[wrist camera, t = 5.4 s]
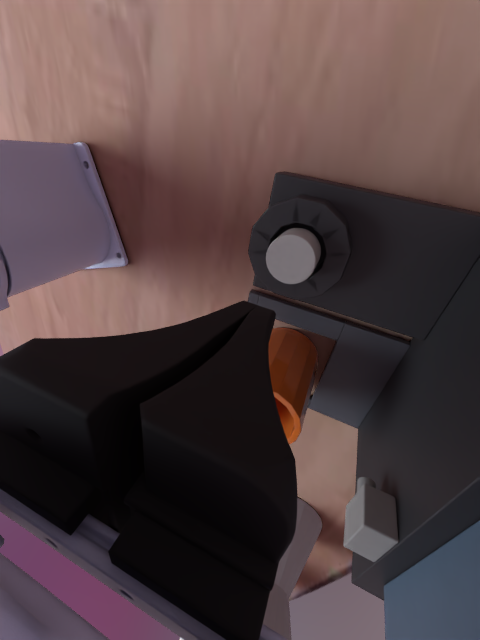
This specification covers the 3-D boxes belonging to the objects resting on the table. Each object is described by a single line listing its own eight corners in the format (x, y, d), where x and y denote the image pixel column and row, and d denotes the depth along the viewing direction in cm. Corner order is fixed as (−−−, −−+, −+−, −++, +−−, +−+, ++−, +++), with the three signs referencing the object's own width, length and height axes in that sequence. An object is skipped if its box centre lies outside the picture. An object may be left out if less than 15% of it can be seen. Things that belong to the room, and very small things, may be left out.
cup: (252, 326, 23) (214, 379, 17) (316, 328, 21) (297, 390, 15) (261, 376, 25) (229, 438, 20) (319, 383, 23) (303, 455, 17)
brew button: (270, 266, 17) (261, 276, 15) (280, 222, 15) (271, 228, 14) (312, 279, 16) (307, 290, 14) (327, 234, 14) (323, 242, 13)
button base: (258, 275, 21) (240, 293, 18) (279, 170, 17) (261, 172, 14) (419, 326, 18) (428, 357, 15) (489, 214, 14) (519, 227, 11)
